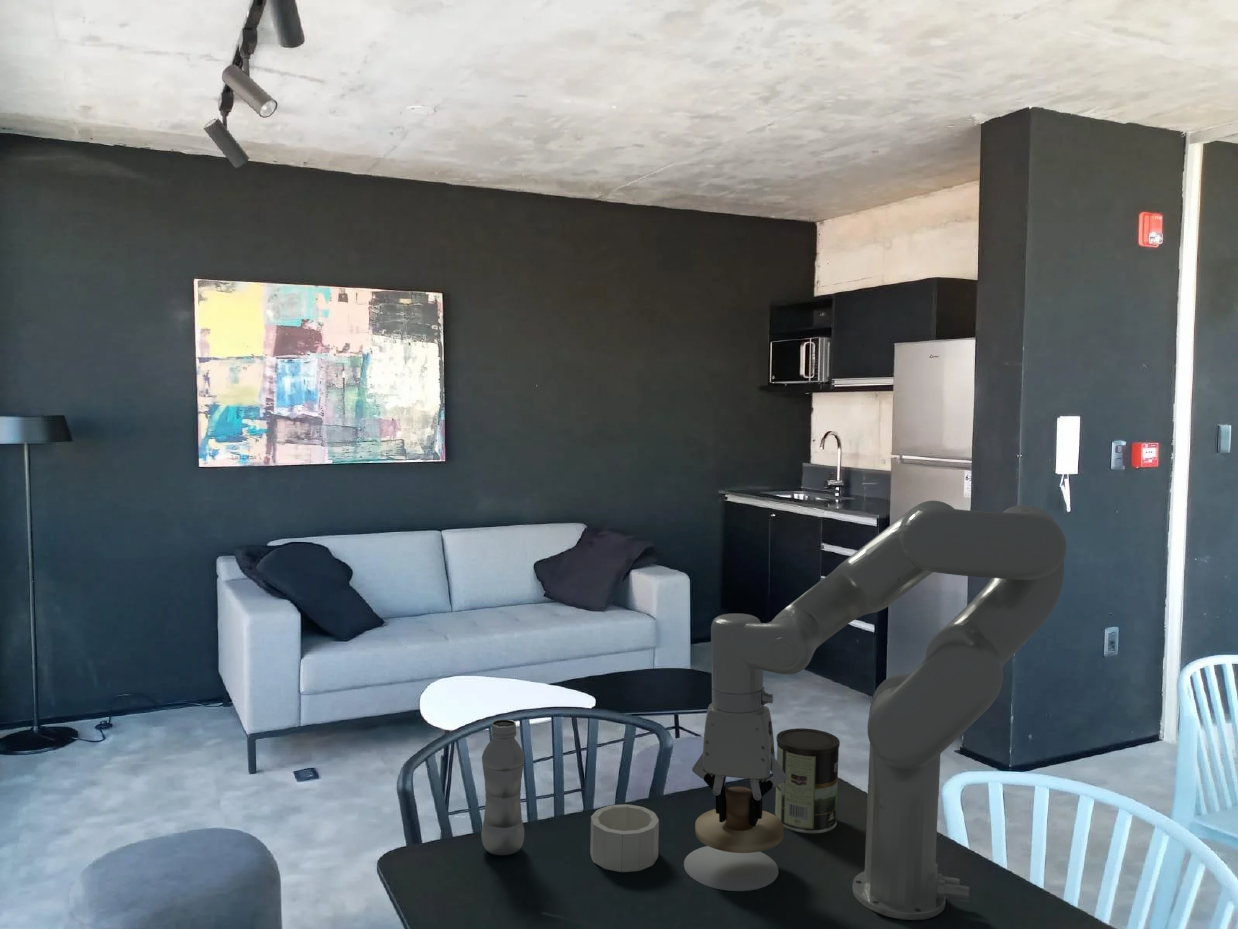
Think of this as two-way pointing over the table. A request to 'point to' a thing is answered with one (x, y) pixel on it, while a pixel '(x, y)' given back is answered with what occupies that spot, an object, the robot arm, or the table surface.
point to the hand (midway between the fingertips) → (739, 819)
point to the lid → (739, 826)
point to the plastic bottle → (503, 790)
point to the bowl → (624, 838)
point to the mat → (730, 869)
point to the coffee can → (807, 780)
